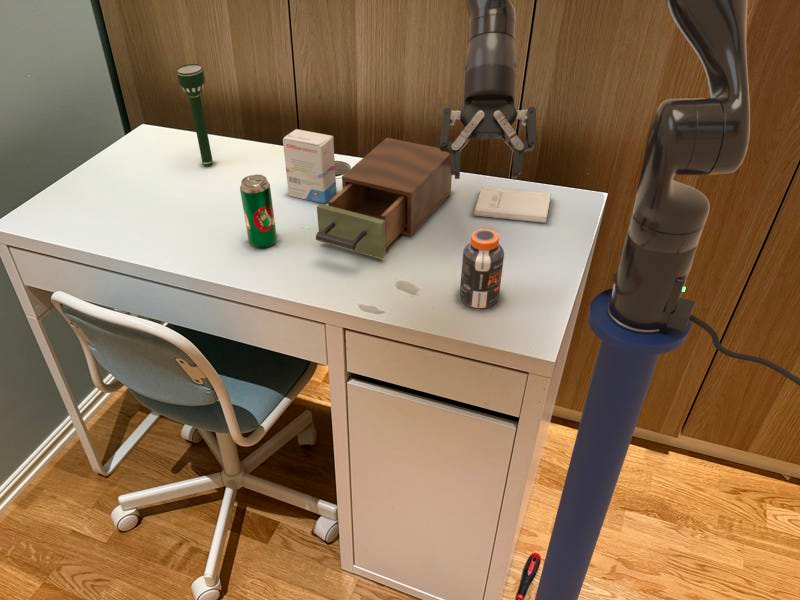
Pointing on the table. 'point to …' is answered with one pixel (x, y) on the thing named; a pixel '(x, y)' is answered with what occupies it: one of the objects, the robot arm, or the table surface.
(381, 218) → the drawer
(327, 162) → the ink box
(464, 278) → the pill bottle
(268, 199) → the soda can
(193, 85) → the flashlight
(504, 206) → the hard drive
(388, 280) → the table surface
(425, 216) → the cabinet
